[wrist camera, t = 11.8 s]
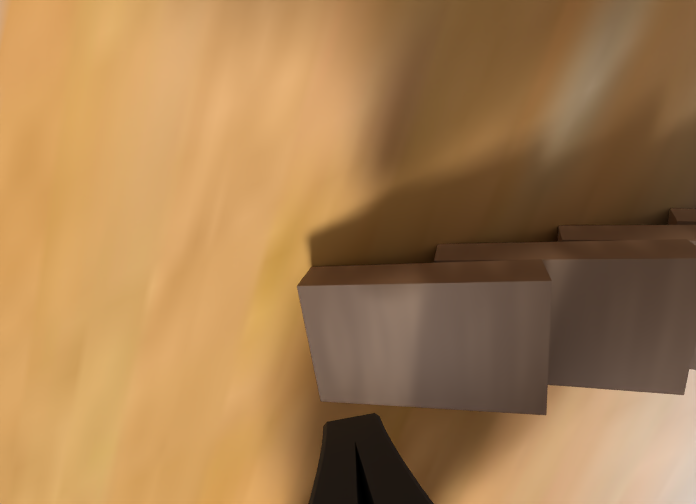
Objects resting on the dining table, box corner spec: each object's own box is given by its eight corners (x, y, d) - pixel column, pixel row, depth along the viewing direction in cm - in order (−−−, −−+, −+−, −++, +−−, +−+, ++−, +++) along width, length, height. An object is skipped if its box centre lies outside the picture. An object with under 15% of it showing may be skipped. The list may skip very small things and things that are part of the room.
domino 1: (311, 267, 15) (541, 259, 13) (331, 374, 17) (537, 383, 15) (296, 285, 14) (551, 280, 12) (320, 401, 16) (546, 415, 14)
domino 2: (437, 244, 16) (686, 239, 13) (443, 352, 18) (664, 365, 15) (433, 260, 14) (711, 258, 12) (440, 376, 16) (683, 394, 14)
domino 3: (558, 225, 16) (838, 223, 13) (551, 333, 18) (796, 354, 15) (562, 240, 15) (875, 241, 12) (554, 355, 17) (824, 382, 14)
